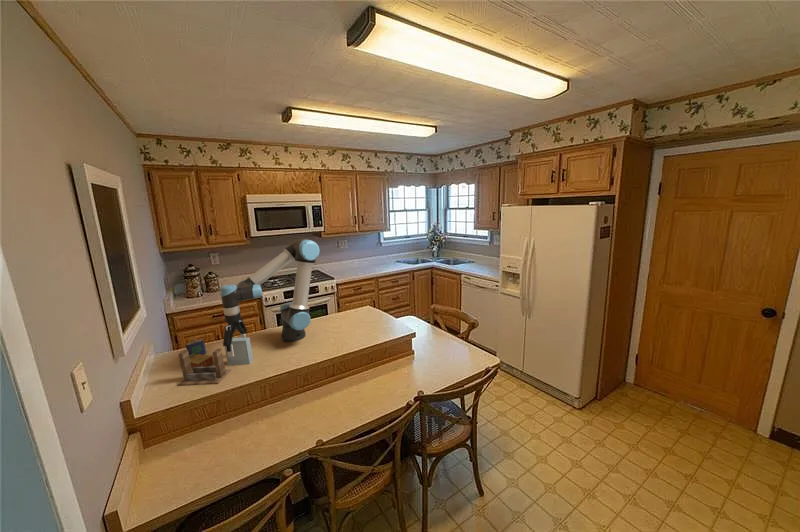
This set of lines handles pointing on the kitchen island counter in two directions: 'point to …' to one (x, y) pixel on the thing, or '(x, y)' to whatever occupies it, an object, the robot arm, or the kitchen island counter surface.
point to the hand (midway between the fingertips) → (237, 350)
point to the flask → (196, 347)
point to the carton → (200, 360)
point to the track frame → (202, 370)
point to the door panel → (240, 352)
